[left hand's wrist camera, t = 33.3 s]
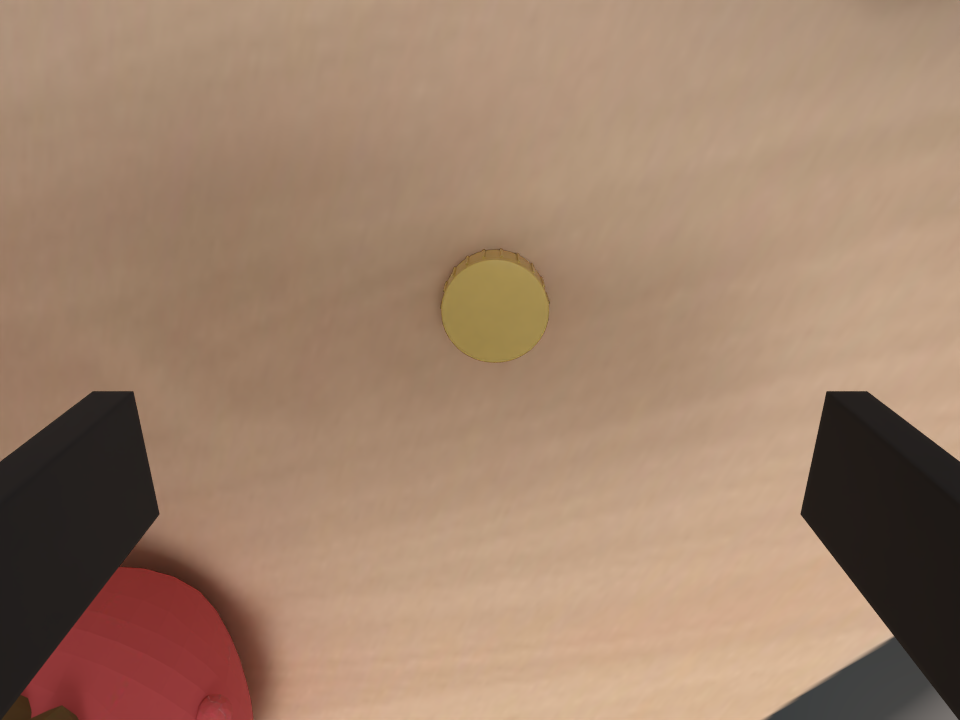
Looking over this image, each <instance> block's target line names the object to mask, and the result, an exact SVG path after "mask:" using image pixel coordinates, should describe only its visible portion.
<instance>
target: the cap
mask: <svg viewBox="0 0 960 720" xmlns="http://www.w3.org/2000/svg"><path fill="white" fill-rule="evenodd" d="M544 287H545V284H544V281H543V278H542V277H540V275H539V274H538V272H537V271H536V269H535V268H534V265H533V264H532V263H531V264H530V263H529V262H528V261H527V260H525V259H524V258H522V257H521V256H519V254H518V253H517V254H515V253H512V252H509V251H504V250H503V249H500V250H486V251H485V249H484V250H483V251H481V252H478V253H475V254H473V255H471V256H467V257H466V259H465V260H463V261H462V262H461V263H460V264H459V265H458V266H457V267H454V268H453V272H452V274H451V276H450V278H449V280H448V281H446V283H445V286H444V290H443V292H444V296H443V298H442V302H441V306H440V309H441V315H442V322H443V326H444V328H445V331H446V333H447V335H448V337H449V338H450V340H451V341H452V343H453V344H454V345H455V346H456V347H457V348H458V349H459V350H460V351H462V352H463V353H465V354H466V355H468V356H470V357H472V358H474V359H477V360H480V361H484V362H492V363H498V362H506V361H510V360H513V359H516V358H518V357H520V356H522V355H524V354H525V353H527V352H528V351H530V350H531V349H532V348H533V347H534V346H535V345H536V344H537V343H538V341H539V340H540V339H541V337H542V335H543V333H544V331H545V329H546V326H547V322H548V317H549V305H548V304H550V302H549V298H548V295H547V293H546V292H545V289H544Z"/></svg>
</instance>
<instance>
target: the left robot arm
mask: <svg viewBox="0 0 960 720" xmlns="http://www.w3.org/2000/svg"><path fill="white" fill-rule="evenodd" d="M158 515H159V510H158V505H157V500H156V496H155V491H154V486H153V481H152V477H151V472H150V467H149V463H148V458H147V453H146V449H145V444H144V439H143V434H142V430H141V425H140V420H139V416H138V411H137V406H136V402H135V397H134V392H133V391H93V392H91V393H90V394H89V395H87V396H86V397H85V398H84V399H82V400H81V401H80V402H78V403H77V404H76V405H74V406H73V407H72V408H70V409H69V410H68V411H66V412H65V413H64V414H62V415H61V416H60V417H58V418H57V419H56V420H55V421H53V422H52V423H51V424H49V425H48V426H47V427H45V428H44V429H43V430H41V431H40V432H39V433H37V434H36V435H35V436H33V437H32V438H31V439H29V440H28V441H27V442H26V443H24V444H23V445H22V446H20V447H19V448H18V449H16V450H15V451H14V452H12V453H11V454H10V455H8V456H7V457H6V458H4V459H3V460H2V461H1V462H0V720H1V719H2V718H3V717H4V716H5V714H6V713H7V712H8V710H9V709H10V708H11V706H12V705H13V704H14V703H15V701H16V700H17V699H18V697H19V696H20V695H21V693H22V692H23V691H24V690H25V688H26V687H27V686H28V684H29V683H30V682H31V680H32V679H33V678H34V677H35V675H36V674H37V673H38V671H39V670H40V669H41V667H42V666H43V665H44V664H45V662H46V661H47V660H48V658H49V657H50V656H51V654H52V653H53V652H54V651H55V649H56V648H57V647H58V645H59V644H60V643H61V641H62V640H63V639H64V638H65V636H66V635H67V634H68V632H69V631H70V630H71V628H72V627H73V626H74V625H75V623H76V622H77V621H78V619H79V618H80V617H81V615H82V614H83V613H84V612H85V610H86V609H87V608H88V606H89V605H90V604H91V602H92V601H93V600H94V599H95V597H96V596H97V595H98V593H99V592H100V591H101V590H102V588H103V587H104V586H105V584H106V583H107V582H108V580H109V579H110V578H111V577H112V575H113V574H114V573H115V571H116V570H117V569H118V567H119V566H120V565H121V564H122V562H123V561H124V560H125V558H126V557H127V556H128V554H129V553H130V552H131V551H132V549H133V548H134V547H135V545H136V544H137V543H138V541H139V540H140V539H141V538H142V536H143V535H144V534H145V532H146V531H147V530H148V528H149V527H150V526H151V525H152V523H153V522H154V521H155V519H156V518H157V517H158ZM801 515H802V517H803V518H804V519H805V521H806V522H807V523H808V525H809V526H810V527H811V528H812V530H813V531H814V532H815V534H816V535H817V536H818V538H819V539H820V540H821V541H822V543H823V544H824V545H825V547H826V548H827V549H828V551H829V552H830V553H831V554H832V556H833V557H834V558H835V560H836V561H837V562H838V564H839V565H840V566H841V567H842V569H843V570H844V571H845V573H846V574H847V575H848V577H849V578H850V579H851V580H852V582H853V583H854V584H855V586H856V587H857V588H858V590H859V591H860V592H861V593H862V595H863V596H864V597H865V599H866V600H867V601H868V603H869V604H870V605H871V606H872V608H873V609H874V610H875V612H876V613H877V614H878V615H879V617H880V618H881V619H882V621H883V622H884V623H885V625H886V626H887V627H888V628H889V630H890V631H891V632H892V634H893V635H894V636H895V638H896V639H897V640H898V641H899V643H900V644H901V645H902V647H903V648H904V649H905V651H906V652H907V653H908V654H909V656H910V657H911V658H912V660H913V661H914V662H915V664H916V665H917V666H918V667H919V669H920V670H921V671H922V673H923V674H924V675H925V677H926V678H927V679H928V680H929V682H930V683H931V684H932V686H933V687H934V688H935V689H936V691H937V692H938V693H939V695H940V696H941V697H942V699H943V700H944V701H945V703H946V704H947V705H948V706H949V708H950V709H951V710H952V712H953V713H954V714H955V715H956V717H957V718H958V719H959V720H960V462H959V461H958V460H957V459H956V458H954V457H953V456H952V455H950V454H949V453H948V452H946V451H945V450H944V449H942V448H941V447H940V446H938V445H937V444H936V443H934V442H933V441H932V440H930V439H929V438H928V437H927V436H925V435H924V434H923V433H921V432H920V431H919V430H917V429H916V428H915V427H913V426H912V425H911V424H909V423H908V422H907V421H905V420H904V419H903V418H902V417H900V416H899V415H898V414H896V413H895V412H894V411H892V410H891V409H890V408H888V407H887V406H886V405H884V404H883V403H882V402H880V401H879V400H878V399H876V398H875V397H874V396H873V395H871V394H870V393H869V392H867V391H827V392H826V397H825V402H824V406H823V411H822V416H821V420H820V425H819V430H818V434H817V439H816V444H815V449H814V453H813V458H812V463H811V467H810V472H809V477H808V481H807V486H806V491H805V496H804V500H803V505H802V510H801Z"/></svg>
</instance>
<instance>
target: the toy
mask: <svg viewBox="0 0 960 720" xmlns="http://www.w3.org/2000/svg"><path fill="white" fill-rule="evenodd" d="M1 720H253V713H252V705H251V699H250V694H249V690H248V686H247V682H246V679H245V675H244V672H243V668H242V665H241V662H240V658H239V656H238V653H237V651H236V649H235V646H234V644H233V641H232V639H231V636H230V635H229V633H228V631H227V629H226V627H225V625H224V623H223V622H222V620H221V618H220V616H219V614H218V612H217V611H216V610H215V609H214V607H213V606H212V605H211V604H210V603H209V602H208V600H207V599H206V598H205V597H204V596H203V595H202V594H201V592H200V591H198V590H196V589H195V588H193V587H191V586H189V585H188V584H186V583H184V582H183V581H181V580H179V579H177V578H175V577H173V576H170V575H166V574H163V573H159V572H155V571H152V570H148V569H144V568H128V567H118V569H117V570H116V571H115V573H114V574H113V575H112V577H111V578H110V579H109V580H108V582H107V583H106V584H105V586H104V587H103V588H102V590H101V591H100V592H99V593H98V595H97V596H96V597H95V599H94V600H93V601H92V602H91V604H90V605H89V606H88V608H87V609H86V610H85V612H84V613H83V614H82V615H81V617H80V618H79V619H78V621H77V622H76V623H75V625H74V626H73V627H72V628H71V630H70V631H69V632H68V634H67V635H66V636H65V638H64V639H63V640H62V641H61V643H60V644H59V645H58V647H57V648H56V649H55V651H54V652H53V653H52V654H51V656H50V657H49V658H48V660H47V661H46V662H45V664H44V665H43V666H42V667H41V669H40V670H39V671H38V673H37V674H36V675H35V677H34V678H33V679H32V680H31V682H30V683H29V684H28V686H27V687H26V688H25V690H24V691H23V692H22V693H21V695H20V696H19V697H18V699H17V700H16V701H15V703H14V704H13V705H12V706H11V708H10V709H9V710H8V712H7V713H6V714H5V716H4V717H3V718H2V719H1Z"/></svg>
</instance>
